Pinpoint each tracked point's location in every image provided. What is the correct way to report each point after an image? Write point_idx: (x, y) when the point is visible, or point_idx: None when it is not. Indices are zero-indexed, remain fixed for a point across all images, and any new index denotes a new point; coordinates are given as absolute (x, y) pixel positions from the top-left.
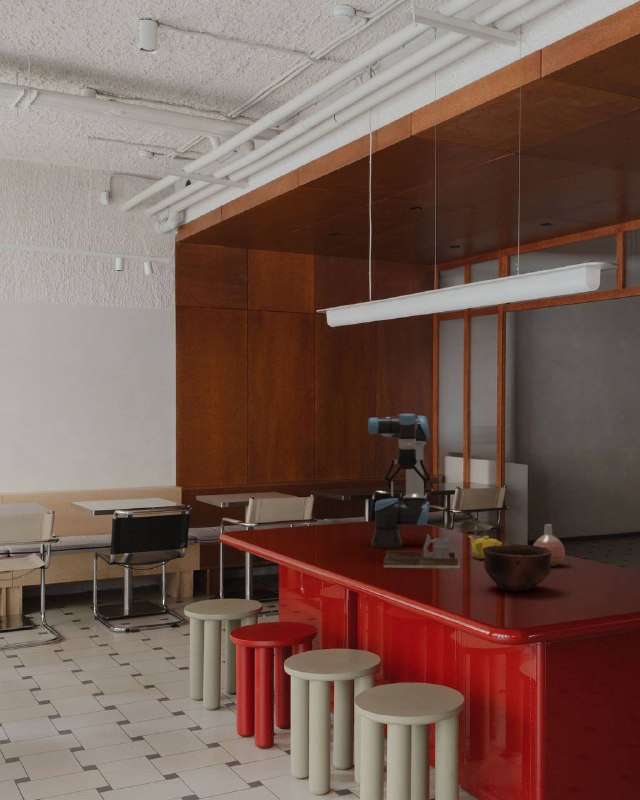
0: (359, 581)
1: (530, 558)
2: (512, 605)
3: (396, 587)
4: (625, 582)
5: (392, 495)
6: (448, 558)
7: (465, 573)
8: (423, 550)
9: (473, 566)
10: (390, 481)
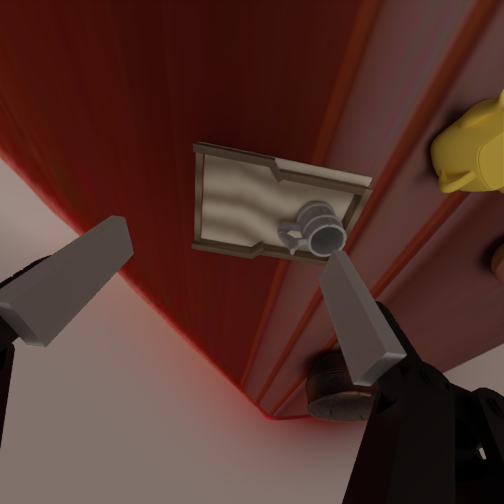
0: (171, 321)
1: (343, 418)
2: (299, 391)
3: (214, 345)
4: (480, 349)
5: (127, 257)
6: (315, 263)
7: (319, 293)
8: (277, 231)
9: (364, 243)
10: (7, 336)
